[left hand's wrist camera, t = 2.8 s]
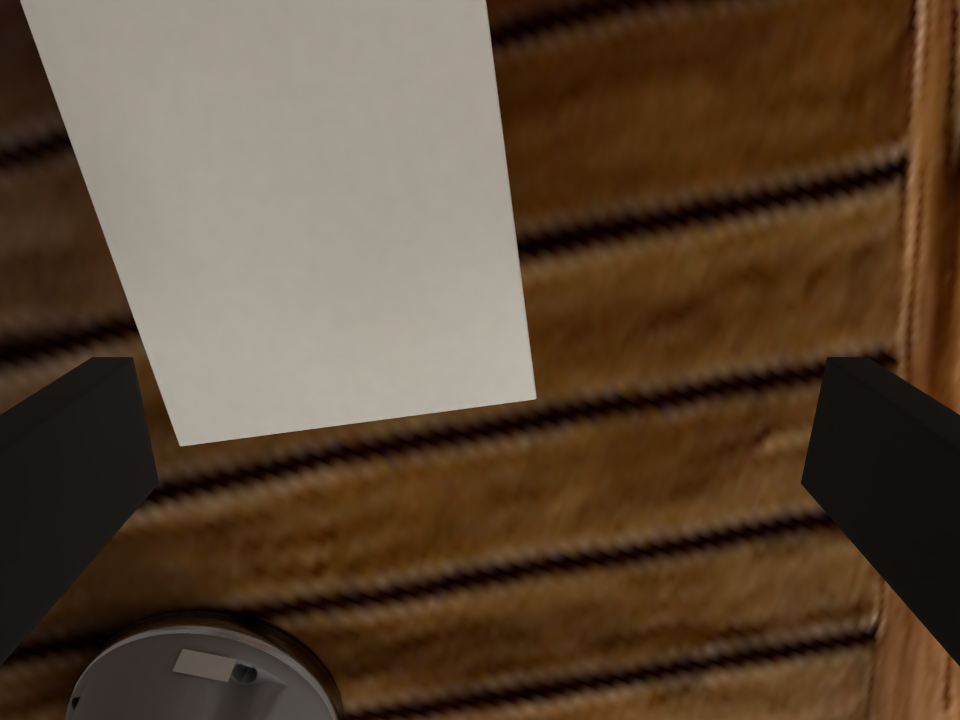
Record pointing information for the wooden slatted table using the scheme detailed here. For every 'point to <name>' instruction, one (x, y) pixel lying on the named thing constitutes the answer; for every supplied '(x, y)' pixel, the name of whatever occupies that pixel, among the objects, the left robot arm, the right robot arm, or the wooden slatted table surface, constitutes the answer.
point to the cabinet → (299, 203)
